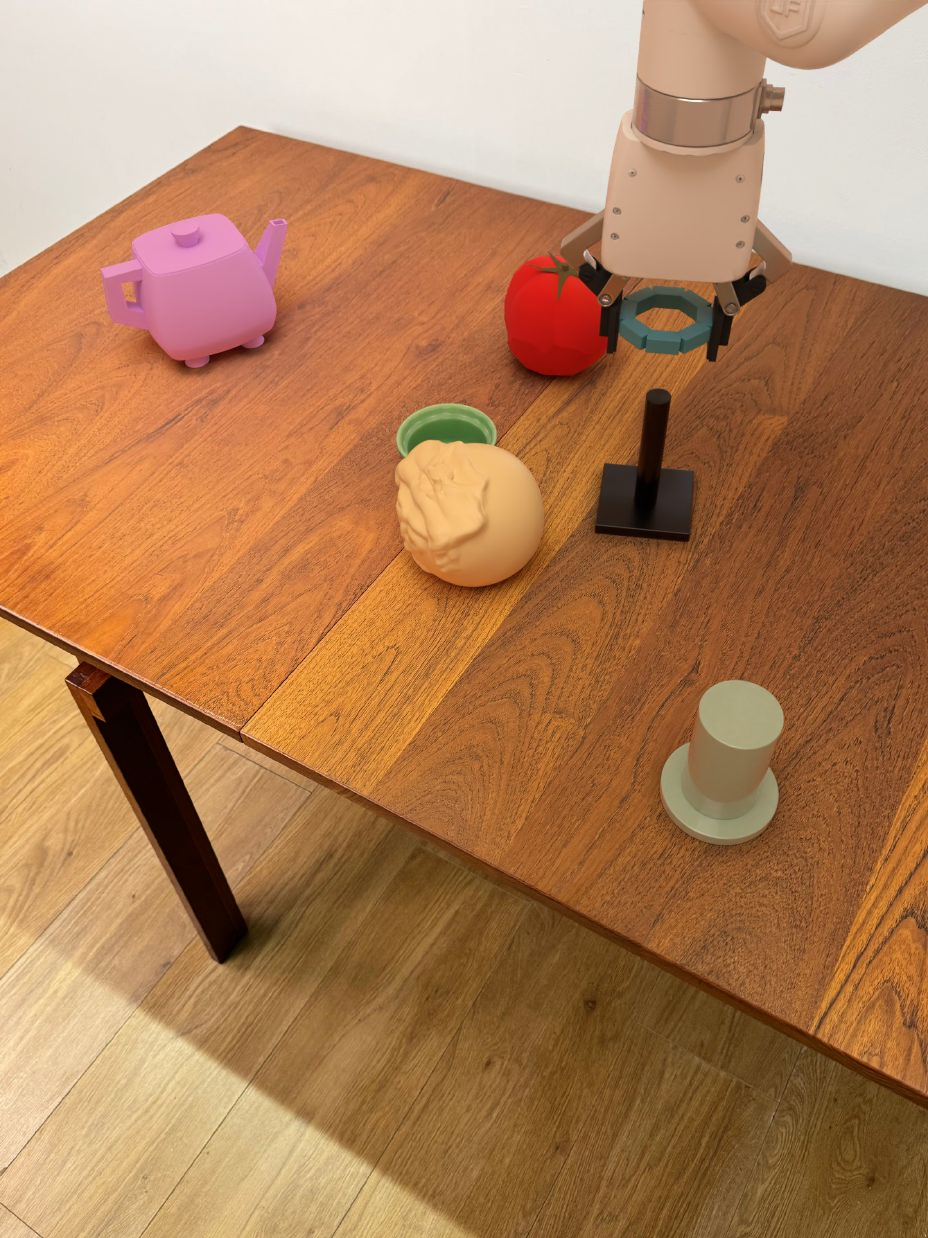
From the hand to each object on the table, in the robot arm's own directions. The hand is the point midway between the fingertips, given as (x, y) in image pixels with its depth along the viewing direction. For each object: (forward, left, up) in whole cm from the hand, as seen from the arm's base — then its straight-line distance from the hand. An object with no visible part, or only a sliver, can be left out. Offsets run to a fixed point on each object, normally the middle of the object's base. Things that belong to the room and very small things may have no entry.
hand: (661, 345), depth 75 cm
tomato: (+10, -20, -17) cm, 28 cm away
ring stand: (-7, +28, -17) cm, 33 cm away
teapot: (+47, -20, -17) cm, 54 cm away
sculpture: (+14, +8, -17) cm, 23 cm away
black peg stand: (0, 0, -17) cm, 17 cm away
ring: (0, 0, +2) cm, 2 cm away
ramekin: (+18, -2, -17) cm, 25 cm away
